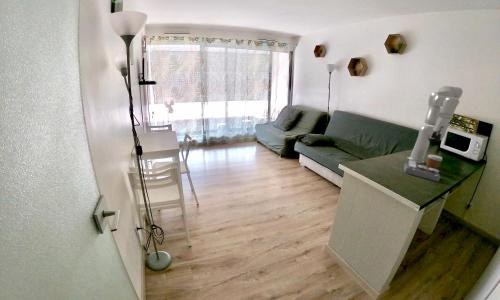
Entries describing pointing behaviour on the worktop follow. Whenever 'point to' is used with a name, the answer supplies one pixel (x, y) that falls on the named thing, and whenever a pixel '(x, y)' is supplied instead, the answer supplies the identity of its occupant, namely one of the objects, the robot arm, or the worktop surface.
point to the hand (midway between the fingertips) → (434, 139)
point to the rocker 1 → (412, 164)
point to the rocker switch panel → (422, 172)
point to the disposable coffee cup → (433, 161)
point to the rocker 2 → (422, 167)
